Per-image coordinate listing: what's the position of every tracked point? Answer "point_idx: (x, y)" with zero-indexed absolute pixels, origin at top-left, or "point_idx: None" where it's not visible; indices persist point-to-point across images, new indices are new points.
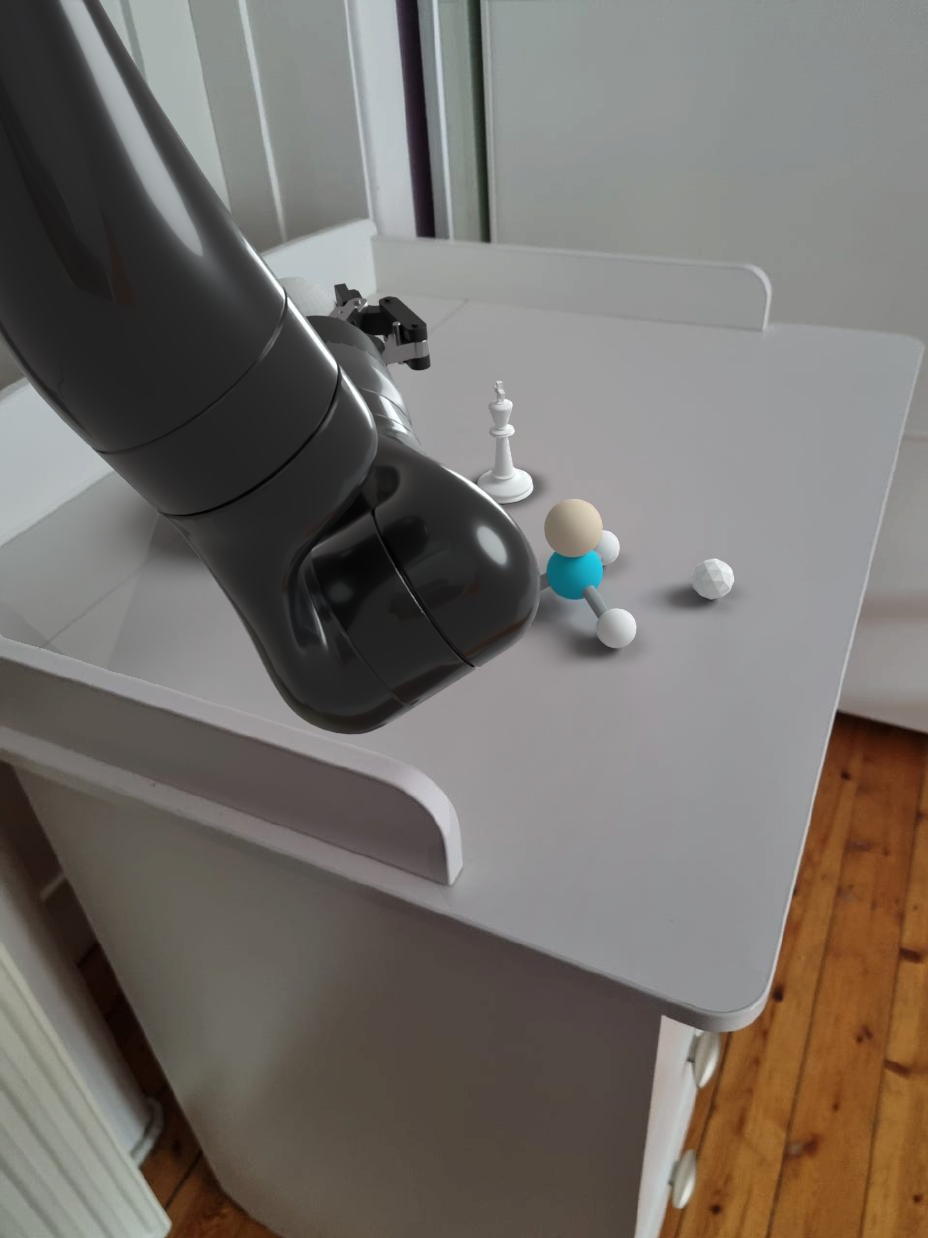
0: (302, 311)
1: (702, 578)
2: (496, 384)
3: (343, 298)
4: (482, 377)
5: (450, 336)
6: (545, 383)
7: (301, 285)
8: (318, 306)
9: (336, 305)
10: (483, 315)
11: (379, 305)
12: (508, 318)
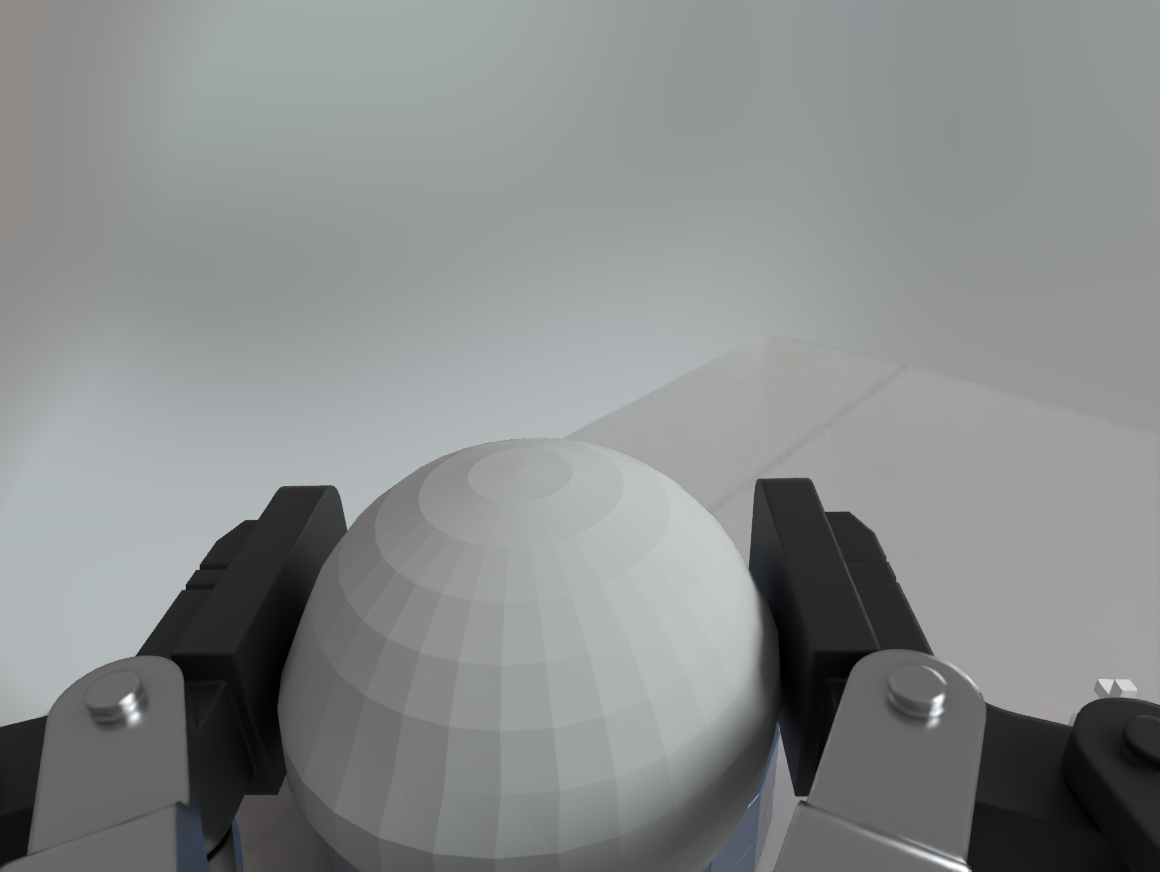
0: (553, 716)
1: None
2: (1113, 687)
3: (814, 616)
4: (946, 521)
5: (880, 424)
6: (1079, 563)
7: (588, 528)
8: (663, 682)
9: (764, 631)
10: (934, 394)
11: (1080, 772)
12: (978, 407)
